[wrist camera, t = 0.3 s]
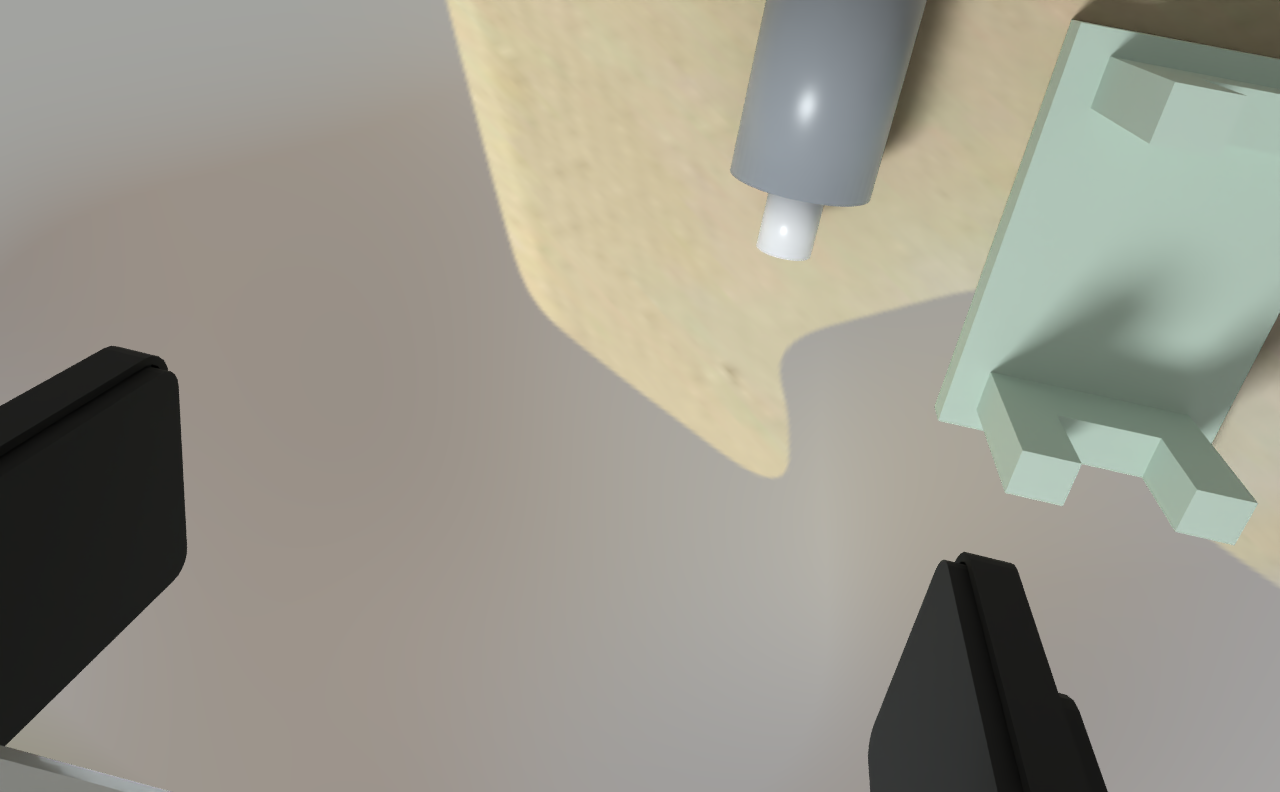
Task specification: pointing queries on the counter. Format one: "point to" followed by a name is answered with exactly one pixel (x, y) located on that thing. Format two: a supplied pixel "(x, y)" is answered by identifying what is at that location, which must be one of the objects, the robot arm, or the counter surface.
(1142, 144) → the cradle
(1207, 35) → the counter surface
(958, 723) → the robot arm
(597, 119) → the counter surface
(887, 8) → the roll
